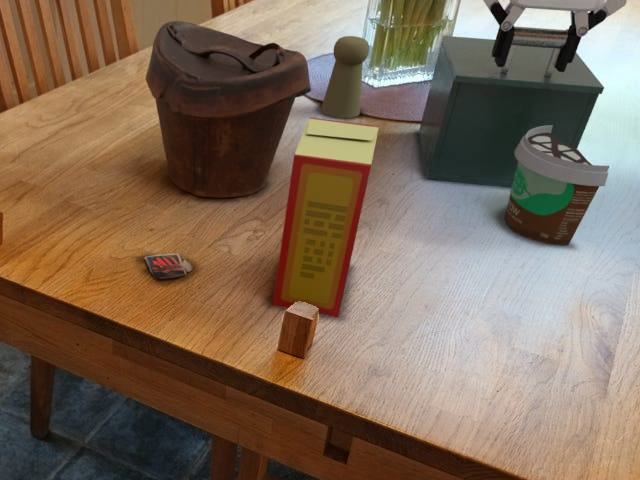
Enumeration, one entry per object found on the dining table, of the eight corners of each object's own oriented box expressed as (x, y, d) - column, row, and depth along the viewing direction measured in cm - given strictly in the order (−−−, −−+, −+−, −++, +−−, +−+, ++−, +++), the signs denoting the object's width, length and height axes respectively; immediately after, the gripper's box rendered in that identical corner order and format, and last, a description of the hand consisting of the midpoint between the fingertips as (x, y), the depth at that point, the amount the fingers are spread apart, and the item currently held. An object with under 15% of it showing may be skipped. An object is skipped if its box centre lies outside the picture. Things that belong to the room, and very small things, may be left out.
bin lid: (601, 94, 84) (623, 40, 80) (454, 81, 86) (468, 28, 83) (568, 51, 97) (586, 3, 93) (441, 41, 100) (453, -6, 96)
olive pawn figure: (330, 101, 117) (343, 29, 110) (365, 110, 114) (380, 37, 107) (314, 112, 113) (326, 38, 106) (350, 121, 110) (364, 46, 104)
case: (315, 205, 89) (341, 53, 77) (155, 215, 86) (158, 59, 74) (274, 147, 102) (291, 11, 91) (135, 154, 99) (134, 14, 88)
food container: (475, 203, 90) (500, 124, 84) (521, 201, 90) (550, 123, 84) (524, 253, 80) (557, 169, 74) (575, 251, 81) (612, 167, 75)
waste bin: (559, 192, 93) (600, 92, 84) (426, 178, 95) (453, 80, 87) (535, 142, 105) (568, 51, 97) (418, 131, 108) (441, 42, 100)
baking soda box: (338, 316, 70) (371, 162, 60) (272, 304, 72) (294, 151, 62) (348, 268, 77) (379, 122, 67) (288, 257, 79) (310, 113, 69)
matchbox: (158, 283, 74) (159, 279, 74) (137, 260, 78) (137, 256, 77) (198, 273, 76) (198, 269, 76) (174, 250, 79) (175, 246, 79)
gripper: (506, -113, 73) (456, 69, 84) (691, -105, 70) (614, 82, 82) (495, -121, 79) (450, 51, 90) (666, -113, 76) (597, 62, 87)
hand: (528, 64), depth 86 cm, fingers closed on bin lid, 6 cm apart
